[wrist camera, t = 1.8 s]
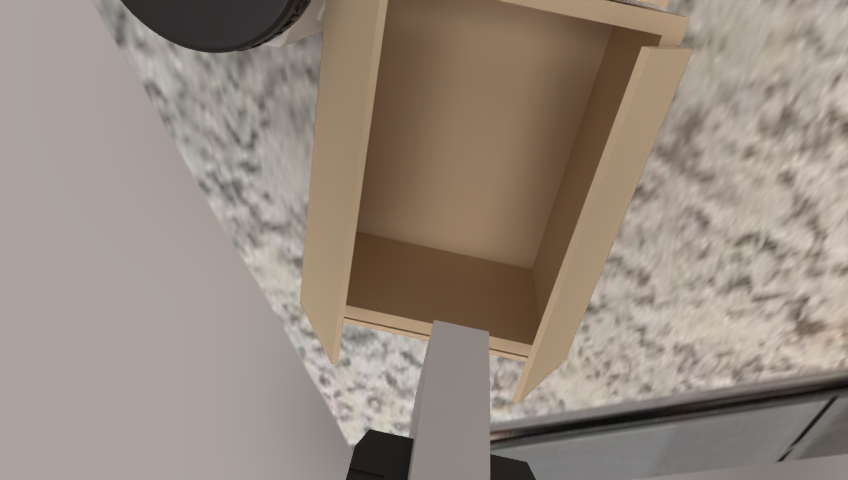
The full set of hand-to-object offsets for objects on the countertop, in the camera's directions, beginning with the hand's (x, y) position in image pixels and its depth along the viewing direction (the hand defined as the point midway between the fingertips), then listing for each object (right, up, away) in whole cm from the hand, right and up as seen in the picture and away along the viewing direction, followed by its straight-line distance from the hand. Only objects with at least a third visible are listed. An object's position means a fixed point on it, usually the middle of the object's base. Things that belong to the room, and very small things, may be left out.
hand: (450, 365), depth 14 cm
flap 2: (+6, +3, +8) cm, 11 cm away
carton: (+2, +10, +18) cm, 21 cm away
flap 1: (-4, +6, +8) cm, 11 cm away
